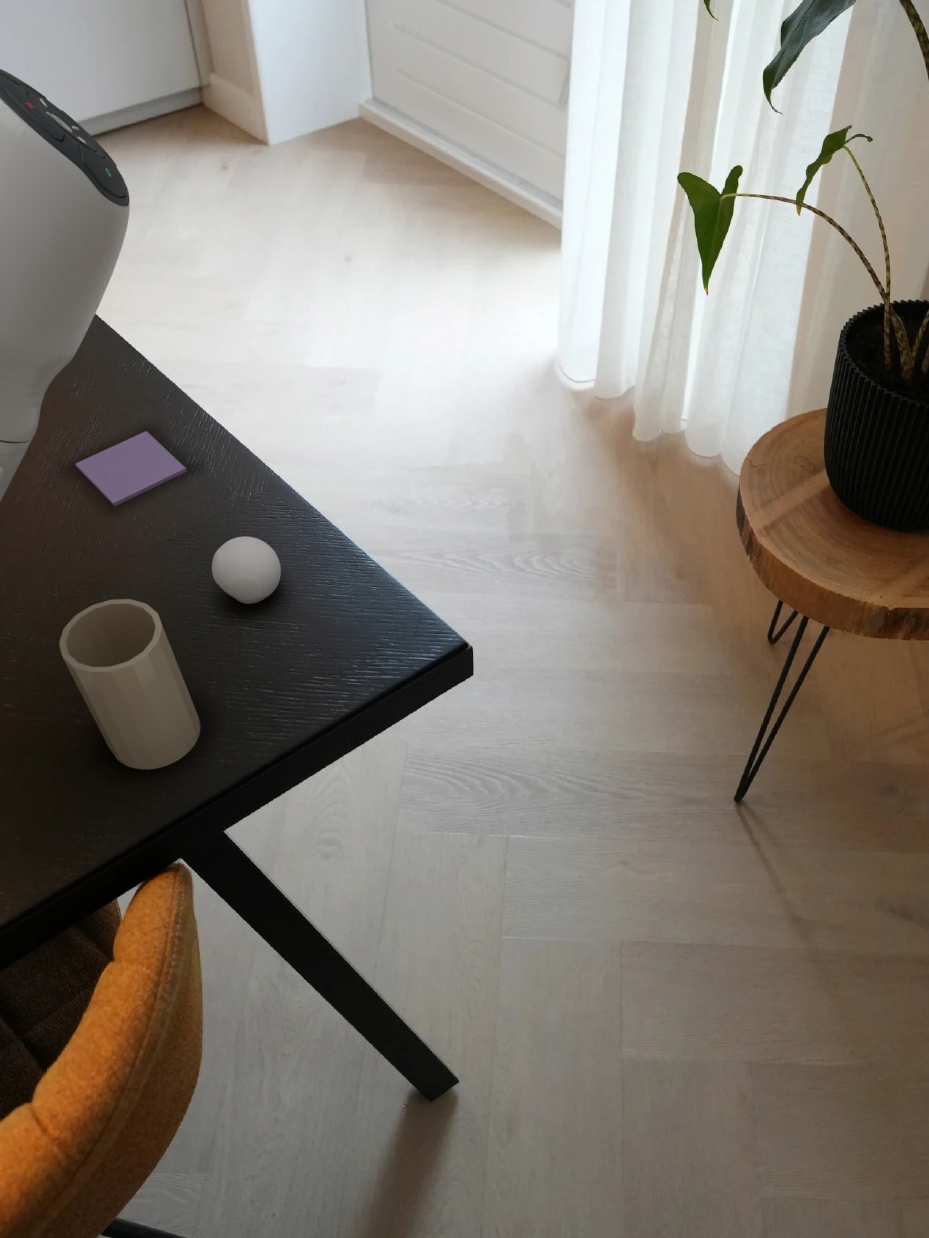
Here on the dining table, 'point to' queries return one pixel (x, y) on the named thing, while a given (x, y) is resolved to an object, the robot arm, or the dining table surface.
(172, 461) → the napkin
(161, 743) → the cup
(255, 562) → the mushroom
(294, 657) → the dining table surface
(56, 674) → the dining table surface
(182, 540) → the dining table surface
